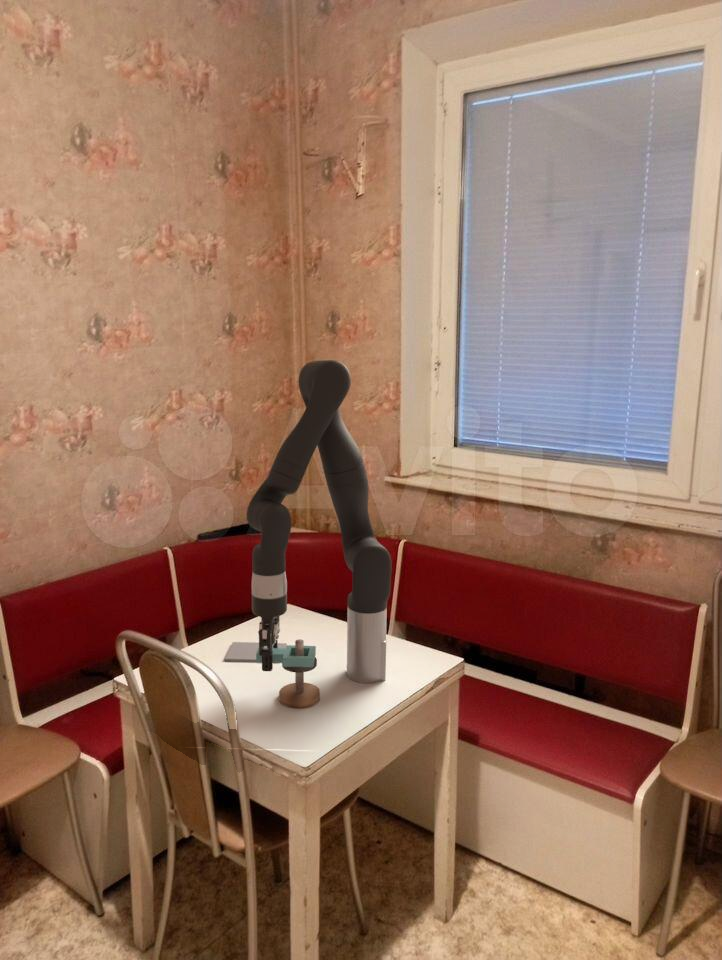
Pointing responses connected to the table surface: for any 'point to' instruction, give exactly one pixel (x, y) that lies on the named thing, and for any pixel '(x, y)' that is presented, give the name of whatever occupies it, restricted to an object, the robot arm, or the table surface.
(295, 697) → the stand
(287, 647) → the teal square frame paddle
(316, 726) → the table surface
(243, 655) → the mat
